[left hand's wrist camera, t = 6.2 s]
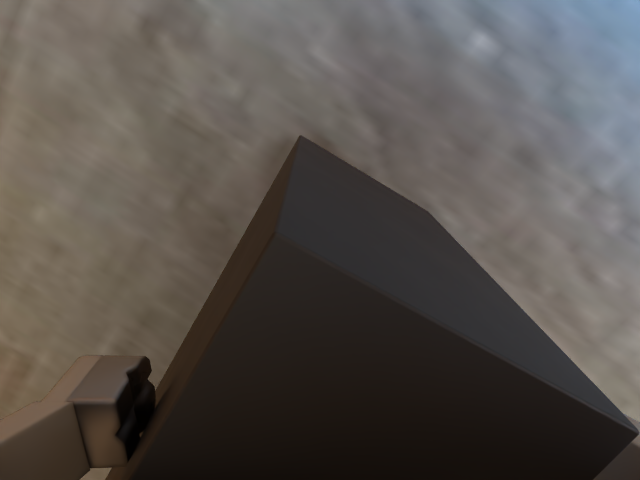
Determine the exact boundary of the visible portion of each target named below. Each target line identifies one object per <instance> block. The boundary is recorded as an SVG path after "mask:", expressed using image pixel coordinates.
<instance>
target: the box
mask: <svg viewBox="0 0 640 480" xmlns="http://www.w3.org/2000/svg"><path fill="white" fill-rule="evenodd" d="M155 394H156V405H155V409H154V411H153V413H152V415H151V417H150V419H149V421H148V423H147V425H146V427H145V429H144V431H143V432H141V433H140V434H139V435H140V440H139V442H138V444H137V446H136V448H135V450H134V452H133V454H132V456H131V458H130V460H129V462H128V463H127V465H126V467H112V469H111V470H110V472H109V474H108V476H107V478H106V479H105V480H593V479H594V478H595V477H596V476H597V475H598V474H599V473H600V472H601V471H603V470H604V469H605V468H606V467H607V466H608V465H609V464H610V463H611V462H612V461H613V460H614V459H615V458H616V457H617V456H618V455H619V454H620V453H621V452H622V451H623V450H624V449H625V448H626V447H627V446H628V445H629V444H630V443H631V442H632V441H633V440H634V439H635V438H636V437H637V436H638V435H639V433H640V432H639V430H638V429H637V428H636V427H635V426H634V425H633V424H632V423H631V422H630V421H629V420H628V418H627V417H626V416H625V415H624V414H623V413H622V412H621V411H620V410H619V409H618V408H617V407H616V406H615V405H614V404H613V403H612V402H611V401H610V400H609V399H608V398H607V397H606V396H605V395H604V394H603V393H602V392H601V390H600V389H599V388H598V387H597V386H596V385H595V384H594V383H593V382H592V381H591V380H590V379H589V378H588V377H587V376H586V375H585V374H584V373H583V372H582V371H581V370H580V369H579V368H578V367H577V366H576V365H575V364H574V362H573V361H572V360H571V359H570V358H569V357H568V356H567V355H566V354H565V353H564V352H563V351H562V350H561V349H560V348H559V347H558V346H557V345H556V344H555V343H554V342H553V341H552V340H551V339H550V338H549V337H548V336H547V334H546V333H545V332H544V331H543V330H542V329H541V328H540V327H539V326H538V325H537V324H536V323H535V322H534V321H533V320H532V319H531V318H530V317H529V316H528V315H527V314H526V313H525V312H524V311H523V310H522V309H521V308H520V306H519V305H518V304H517V303H516V302H515V301H514V300H513V299H512V298H511V297H510V296H509V295H508V294H507V293H506V292H505V291H504V290H503V289H502V288H501V287H500V286H499V285H498V284H497V283H496V282H495V281H494V280H493V278H492V277H491V276H490V275H489V274H488V273H487V272H486V271H485V270H484V269H483V268H482V267H481V266H480V265H479V264H478V263H477V262H476V261H475V260H474V259H473V258H472V257H471V256H470V255H469V254H468V253H467V252H466V250H465V249H464V248H463V247H462V246H461V245H460V244H459V243H458V242H457V241H456V240H455V239H454V238H453V237H452V236H451V235H450V234H449V233H448V232H447V231H446V230H445V229H444V228H443V227H442V226H441V225H440V224H439V222H438V221H437V220H436V219H435V218H434V217H433V216H432V215H431V214H430V213H429V212H428V211H426V210H425V209H423V208H421V207H420V206H418V205H416V204H415V203H413V202H411V201H410V200H408V199H406V198H405V197H403V196H401V195H400V194H398V193H396V192H395V191H393V190H391V189H390V188H388V187H386V186H385V185H383V184H381V183H380V182H378V181H376V180H375V179H373V178H371V177H370V176H368V175H366V174H365V173H363V172H361V171H360V170H358V169H356V168H355V167H353V166H351V165H350V164H348V163H346V162H345V161H343V160H341V159H340V158H338V157H336V156H335V155H333V154H331V153H330V152H328V151H326V150H325V149H323V148H321V147H320V146H318V145H316V144H315V143H313V142H311V141H310V140H308V139H306V138H305V137H303V136H301V135H300V136H299V138H298V139H297V141H296V143H295V145H294V147H293V148H292V150H291V152H290V154H289V155H288V157H287V159H286V161H285V162H284V164H283V166H282V168H281V170H280V171H279V173H278V175H277V177H276V178H275V180H274V182H273V184H272V185H271V187H270V189H269V191H268V193H267V194H266V196H265V198H264V200H263V201H262V203H261V205H260V207H259V208H258V210H257V212H256V214H255V216H254V217H253V219H252V221H251V223H250V224H249V226H248V228H247V230H246V231H245V233H244V235H243V237H242V239H241V240H240V242H239V244H238V246H237V247H236V249H235V251H234V253H233V254H232V256H231V258H230V260H229V262H228V263H227V265H226V267H225V269H224V270H223V272H222V274H221V276H220V278H219V279H218V281H217V283H216V285H215V286H214V288H213V290H212V292H211V293H210V295H209V297H208V299H207V301H206V302H205V304H204V306H203V308H202V309H201V311H200V313H199V315H198V316H197V318H196V320H195V322H194V324H193V325H192V327H191V329H190V331H189V332H188V334H187V336H186V338H185V339H184V341H183V343H182V345H181V347H180V348H179V350H178V352H177V354H176V355H175V357H174V359H173V361H172V362H171V364H170V366H169V368H168V370H167V371H166V373H165V375H164V377H163V378H162V380H161V382H160V384H159V385H158V387H157V389H156V391H155Z"/></svg>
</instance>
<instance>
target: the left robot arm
mask: <svg viewBox="0 0 640 480" xmlns="http://www.w3.org/2000/svg"><path fill="white" fill-rule="evenodd" d="M151 371H152V370H151V365H150V360H149V359H148V358H147V357H146V356H106V355H105V356H102V355H85V356H82V357H79V358H78V359H77V360H76V361H75V363H74V364H73V365H72V366H71V367H70V369H69V370H68V371H67V372H66V373H65V374H64V376H63V377H62V378H61V379H60V380H59V381H58V383H57V384H56V385H55V386H54V387H53V389H52V390H51V391H50V392H49V393H48V394H47V396H46V397H45V398H44V399H43V400H42V401H41V402H33V403H31V404H29V405H27V406H25V407H24V408H22V409H20V410H18V411H16V412H14V413H12V414H10V415H8V416H7V417H5V418H3V419H1V420H0V480H79V479H81V478H82V477H83V476H84V475H85V474H86V473H87V472H89V471H90V468H111V467H126V465H127V463H128V462H129V460H130V458H131V456H132V454H133V452H134V450H135V448H136V446H137V444H138V442H139V440H140V435H139V434H140V433H141V432H143V431H144V429H145V427H146V425H147V423H148V421H149V419H150V417H151V415H152V413H153V411H154V409H155V405H156V394H155V387H154V385H153V384H152V383H151V382H150V381H149V380H148V377H149V375H150V373H151ZM624 415H625V414H624ZM625 416H626V417H627V418H628V420H629V421H630V422H631V423H632V424H633V425H634V426H635V427H636V428H637V429H638V430H639V432H640V422H638V421H636V420H634V419H632V418H630V417H628V416H627V415H625ZM593 480H640V433H639V435H638V436H637V437H636V438H635V439H634V440H633V441H632V442H631V443H630V444H629V445H628V446H627V447H626V448H625V449H624V450H623V451H622V452H621V453H620V454H619V455H618V456H617V457H616V458H615V459H614V460H613V461H612V462H611V463H610V464H609V465H608V466H607V467H606V468H605V469H604V470H603V471H601V472H600V473H599V474H598V475H597V476H596V477H595V478H594V479H593Z"/></svg>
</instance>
